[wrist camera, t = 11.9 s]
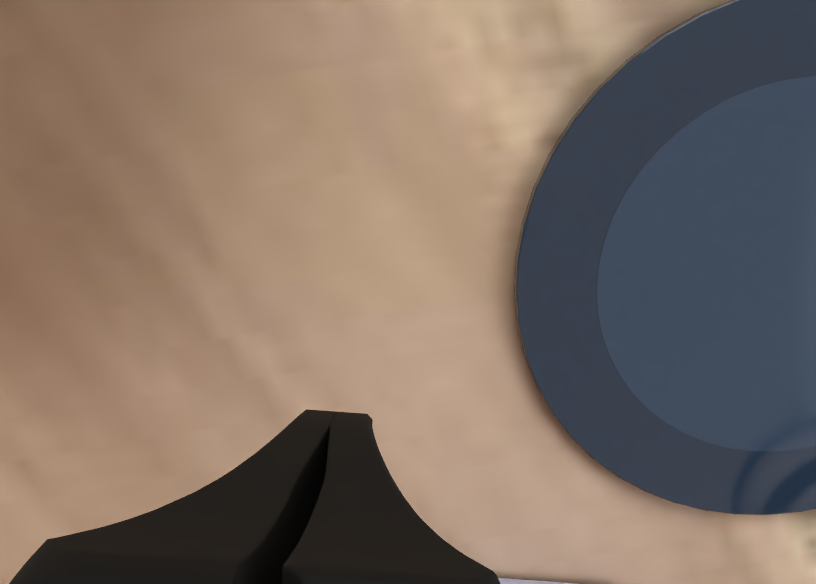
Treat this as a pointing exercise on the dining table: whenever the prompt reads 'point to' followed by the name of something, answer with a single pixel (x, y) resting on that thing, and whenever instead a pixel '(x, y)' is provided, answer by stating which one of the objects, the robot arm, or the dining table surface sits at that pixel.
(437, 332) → the dining table surface
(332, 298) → the dining table surface
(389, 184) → the dining table surface
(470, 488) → the dining table surface
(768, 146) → the plate
